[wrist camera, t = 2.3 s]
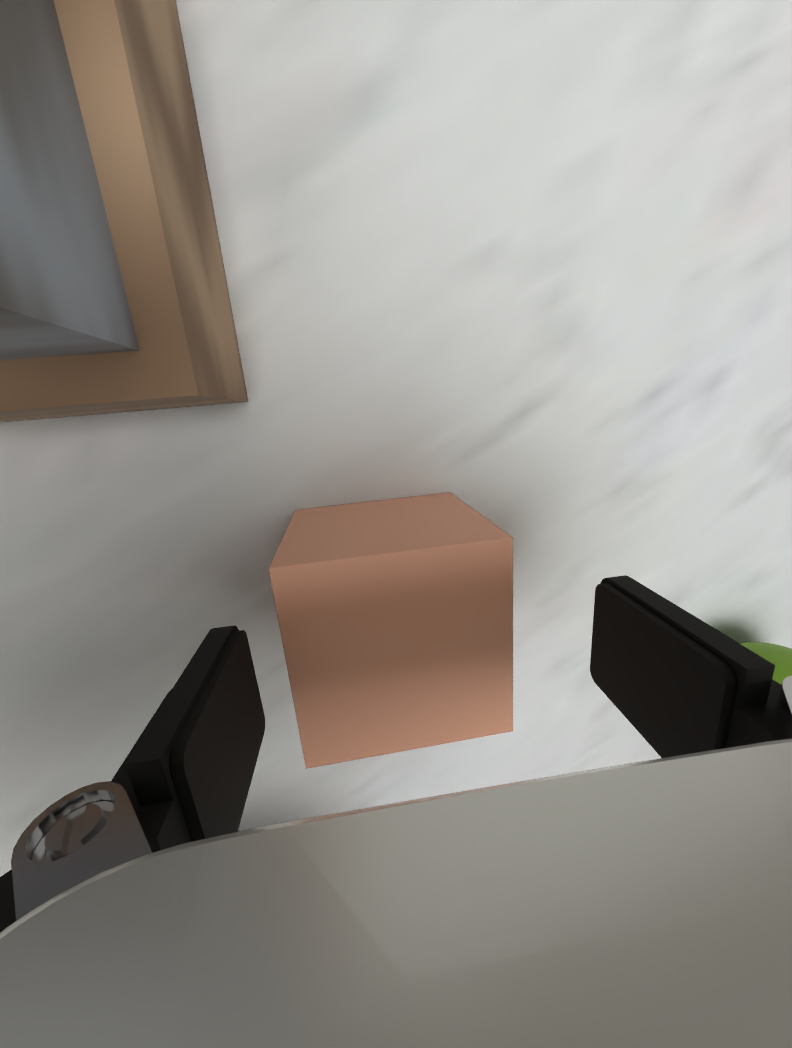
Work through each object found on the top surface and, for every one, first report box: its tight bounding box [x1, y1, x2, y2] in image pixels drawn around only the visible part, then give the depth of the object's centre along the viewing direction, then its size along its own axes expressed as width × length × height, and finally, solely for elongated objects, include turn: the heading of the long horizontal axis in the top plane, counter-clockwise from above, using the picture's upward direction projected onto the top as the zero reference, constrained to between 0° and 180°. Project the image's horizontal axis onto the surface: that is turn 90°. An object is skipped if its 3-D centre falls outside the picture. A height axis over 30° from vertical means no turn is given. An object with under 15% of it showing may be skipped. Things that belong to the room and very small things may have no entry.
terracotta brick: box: [269, 493, 513, 769], centre depth 13 cm, size 6×6×6 cm
